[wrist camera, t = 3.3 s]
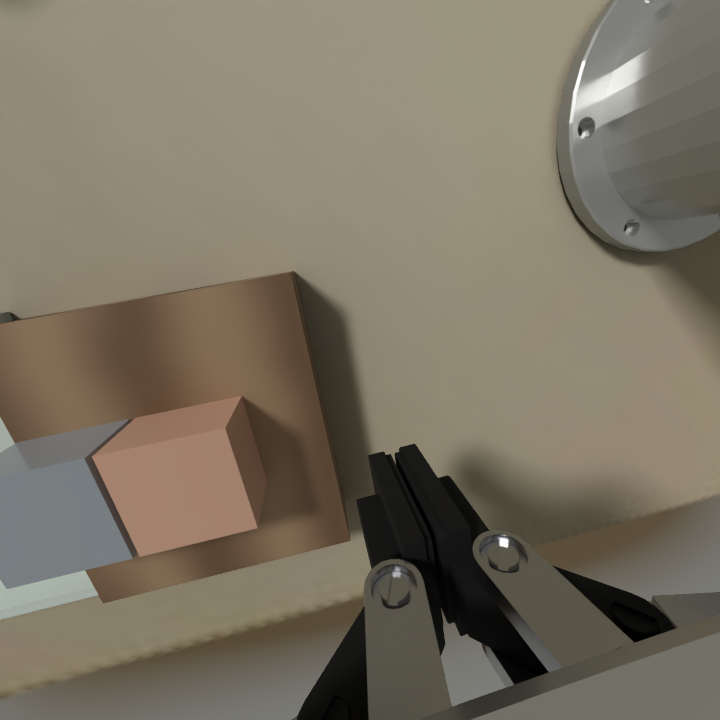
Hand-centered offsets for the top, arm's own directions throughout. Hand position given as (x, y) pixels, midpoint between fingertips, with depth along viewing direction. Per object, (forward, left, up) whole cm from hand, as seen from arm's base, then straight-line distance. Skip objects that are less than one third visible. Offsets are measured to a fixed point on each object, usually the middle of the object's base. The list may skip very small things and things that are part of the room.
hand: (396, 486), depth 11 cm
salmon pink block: (+8, 0, -5) cm, 9 cm away
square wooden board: (+9, 0, -8) cm, 11 cm away
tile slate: (+13, 0, -5) cm, 13 cm away
